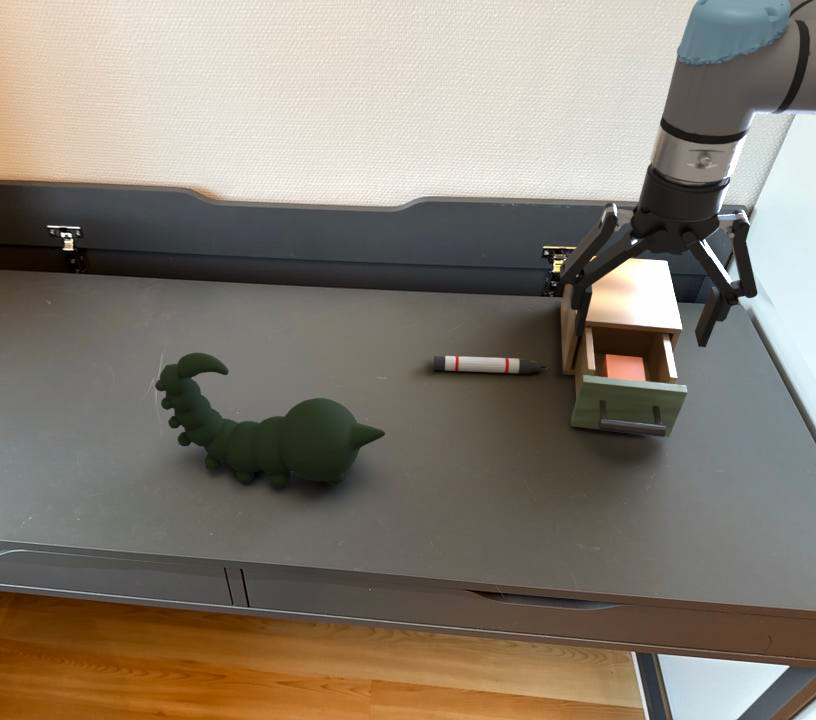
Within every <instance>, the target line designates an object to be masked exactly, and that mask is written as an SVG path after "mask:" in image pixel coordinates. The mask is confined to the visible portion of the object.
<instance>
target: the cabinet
mask: <svg viewBox="0 0 816 720" xmlns="http://www.w3.org/2000/svg"><path fill="white" fill-rule="evenodd" d="M596 256H597V255H595V256H594V257H593V258H592V259H594V258H595V257H596ZM592 259H591V260H592ZM591 260H590V261H591ZM572 288H573V286H572V285H570V284H567V285H564V289H563V293H562V299H561V304H560V326H561V328H560V329H561V331H560V332H561V353H562V357H561V358H562V374H563V375H568V376H575V366H574V353H575V349H576V345H577V341H578V337H579V336H575V318H576V313H577V310H572V309H571V303H570V298H571V293H572ZM592 292H593V293H592V297H591V302H590V306H589V310H588V314H587V318H586V322H585V325H586V326H597V327H609V328H620V329H631V330H642V331H653V332H664V333H668V334H669V339H670V344H671V349H672V354H673V355H674V353H675V350H676V348H677V345H678V342H679V340H680V337H681V334H682V331H683V326H682V322H681V318H680V312H679V308H678V304H677V299H676V296H675V291H674V286H673V282H672V277H671V273H670V269H669V265H668V261H667V260H658V259H657V260H656V259H642V258H633V257H631V258H630V259H628V260H627V261H625V262H624V263H623V264H621V265H620V266H618V267H617V268H615V269H614V270H612V271H611V272H610V273H608V274H607V275H605V276H604V277H602V278H601V279H599V280H598V281H596V282H595V283H594V284H592Z"/></svg>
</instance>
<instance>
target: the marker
mask: <svg viewBox="0 0 816 720" xmlns="http://www.w3.org/2000/svg"><path fill="white" fill-rule="evenodd" d="M548 367H549V365H543V364H542V362H539V361H532V360H531V359H528V358H511V357H510V358H509V357H487V356H485V357H483V356H460V355H459V356H455V355H434V356H433V370H434V371H451V372H472V373H473V372H474V373H475V372H477V373H499V374H530V373H532V372H541V370H547V369H548Z"/></svg>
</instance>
